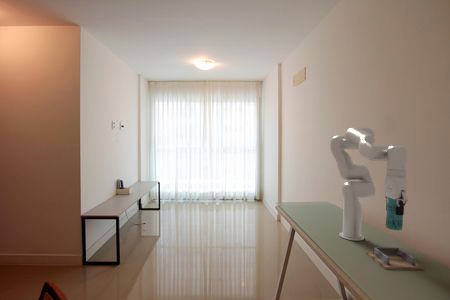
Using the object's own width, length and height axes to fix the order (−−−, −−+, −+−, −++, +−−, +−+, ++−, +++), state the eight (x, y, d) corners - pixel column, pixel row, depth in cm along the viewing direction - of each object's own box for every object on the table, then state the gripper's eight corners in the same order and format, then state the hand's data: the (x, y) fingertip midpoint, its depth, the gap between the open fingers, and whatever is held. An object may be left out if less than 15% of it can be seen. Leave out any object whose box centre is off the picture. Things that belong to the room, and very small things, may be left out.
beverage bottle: (386, 228, 128) (388, 185, 127) (403, 231, 123) (405, 187, 123) (384, 231, 123) (385, 187, 122) (401, 235, 118) (403, 189, 118)
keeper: (366, 253, 131) (366, 245, 131) (399, 254, 131) (400, 246, 131) (384, 269, 116) (385, 259, 115) (423, 270, 115) (423, 260, 115)
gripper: (377, 171, 131) (375, 207, 131) (399, 175, 113) (397, 218, 114) (393, 171, 131) (391, 208, 131) (418, 176, 113) (416, 218, 114)
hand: (394, 212), depth 123 cm, fingers closed on beverage bottle, 6 cm apart
